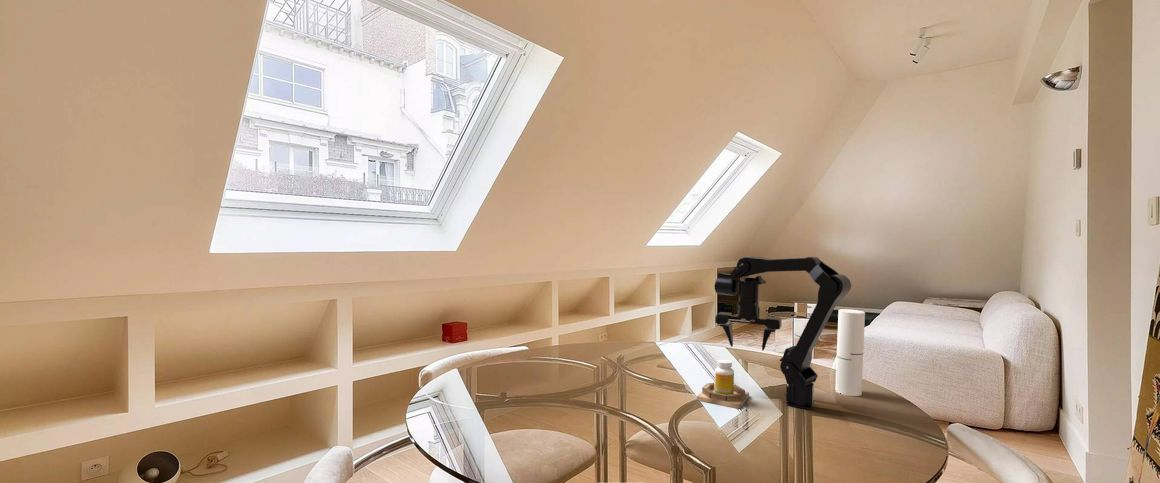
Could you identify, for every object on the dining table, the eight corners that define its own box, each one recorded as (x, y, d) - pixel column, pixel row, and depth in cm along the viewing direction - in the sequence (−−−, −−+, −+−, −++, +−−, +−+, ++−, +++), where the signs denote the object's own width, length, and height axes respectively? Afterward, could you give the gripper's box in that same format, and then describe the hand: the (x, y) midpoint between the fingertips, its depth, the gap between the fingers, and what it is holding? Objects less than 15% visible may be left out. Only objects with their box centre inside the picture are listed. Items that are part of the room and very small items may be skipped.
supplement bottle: (735, 397, 147) (736, 364, 147) (715, 396, 148) (716, 363, 148) (731, 391, 153) (732, 359, 152) (712, 390, 153) (713, 358, 153)
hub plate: (749, 396, 152) (749, 387, 152) (739, 408, 142) (739, 399, 142) (709, 388, 159) (709, 380, 158) (696, 400, 148) (697, 391, 148)
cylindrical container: (864, 397, 154) (868, 314, 153) (839, 395, 155) (842, 312, 154) (857, 389, 161) (860, 309, 160) (832, 387, 162) (835, 308, 161)
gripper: (784, 296, 160) (782, 346, 160) (723, 292, 168) (721, 339, 169) (780, 301, 150) (778, 354, 150) (715, 296, 158) (714, 346, 159)
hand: (747, 348), depth 158 cm, fingers open, 9 cm apart
